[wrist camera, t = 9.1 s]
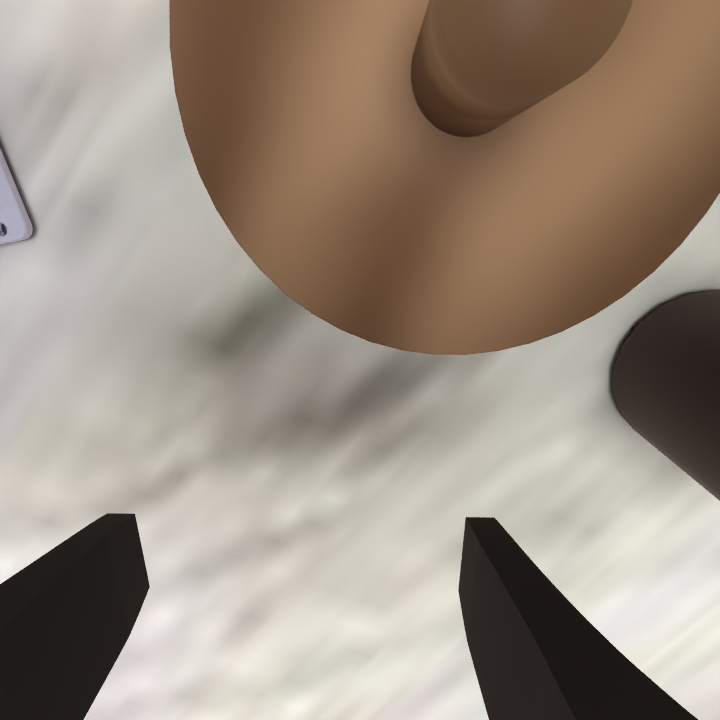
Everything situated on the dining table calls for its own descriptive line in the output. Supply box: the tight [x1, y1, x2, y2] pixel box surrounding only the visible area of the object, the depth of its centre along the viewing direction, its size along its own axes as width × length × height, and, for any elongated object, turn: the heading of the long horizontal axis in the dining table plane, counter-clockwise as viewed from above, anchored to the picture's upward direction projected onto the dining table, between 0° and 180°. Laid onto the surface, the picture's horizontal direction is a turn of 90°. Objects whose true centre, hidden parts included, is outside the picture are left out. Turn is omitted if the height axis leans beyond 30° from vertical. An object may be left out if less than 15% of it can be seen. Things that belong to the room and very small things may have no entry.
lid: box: [170, 0, 720, 355], centre depth 9 cm, size 15×15×5 cm
